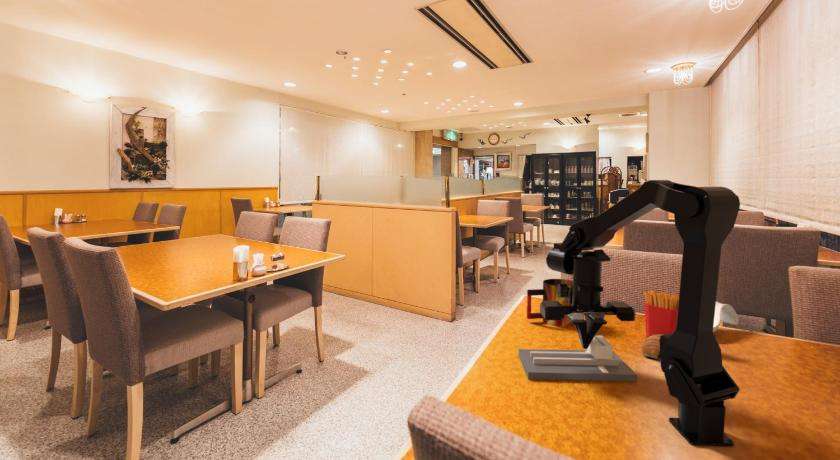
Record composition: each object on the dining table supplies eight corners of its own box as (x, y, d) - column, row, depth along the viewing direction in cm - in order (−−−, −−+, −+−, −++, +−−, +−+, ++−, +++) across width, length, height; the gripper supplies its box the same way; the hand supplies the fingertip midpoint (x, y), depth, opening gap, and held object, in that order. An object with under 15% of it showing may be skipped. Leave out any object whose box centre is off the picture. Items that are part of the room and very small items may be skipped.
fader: (612, 366, 83) (612, 345, 83) (595, 366, 83) (595, 345, 83) (601, 354, 89) (601, 335, 89) (585, 354, 89) (586, 334, 89)
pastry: (667, 364, 88) (667, 348, 88) (634, 356, 93) (634, 340, 92) (677, 352, 94) (677, 336, 94) (646, 344, 99) (646, 330, 99)
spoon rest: (701, 345, 99) (703, 317, 98) (656, 330, 109) (657, 305, 108) (752, 329, 109) (754, 304, 108) (706, 317, 119) (707, 294, 118)
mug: (525, 322, 117) (525, 283, 116) (557, 314, 124) (558, 277, 123) (550, 331, 109) (551, 290, 107) (583, 323, 115) (584, 283, 114)
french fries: (684, 345, 98) (687, 295, 96) (676, 349, 95) (678, 297, 94) (646, 334, 105) (649, 287, 104) (638, 337, 103) (640, 290, 102)
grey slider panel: (636, 381, 80) (637, 369, 80) (528, 379, 82) (528, 366, 81) (612, 356, 92) (613, 345, 92) (518, 355, 94) (518, 344, 93)
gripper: (615, 271, 92) (613, 335, 93) (535, 271, 93) (534, 334, 95) (638, 282, 81) (635, 354, 82) (546, 282, 82) (545, 353, 84)
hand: (584, 348), depth 86 cm, fingers closed
